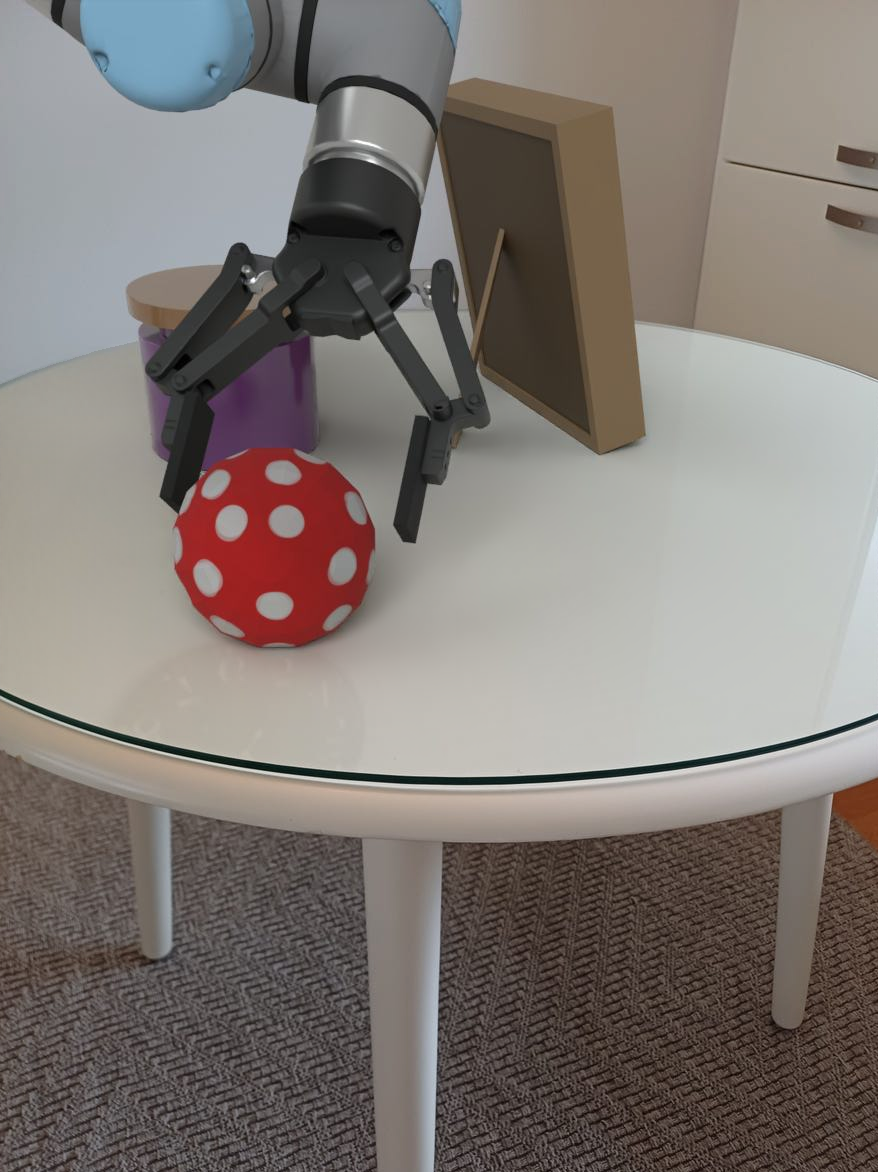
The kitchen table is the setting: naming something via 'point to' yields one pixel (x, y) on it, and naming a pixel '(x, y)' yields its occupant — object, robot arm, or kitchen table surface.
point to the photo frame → (544, 255)
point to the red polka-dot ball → (274, 547)
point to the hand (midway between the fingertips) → (287, 520)
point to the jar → (251, 402)
